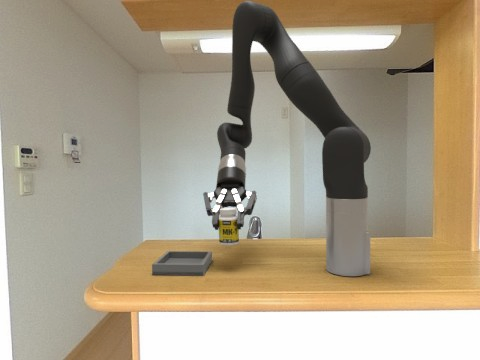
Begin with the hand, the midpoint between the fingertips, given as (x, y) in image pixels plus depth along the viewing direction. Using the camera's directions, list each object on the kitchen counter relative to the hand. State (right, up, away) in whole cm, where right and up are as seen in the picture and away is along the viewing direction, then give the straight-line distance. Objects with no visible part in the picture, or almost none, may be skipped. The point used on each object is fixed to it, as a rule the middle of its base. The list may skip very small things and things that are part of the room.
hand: (227, 227), depth 79 cm
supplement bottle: (0, -4, +2) cm, 5 cm away
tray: (-11, -10, +4) cm, 16 cm away
